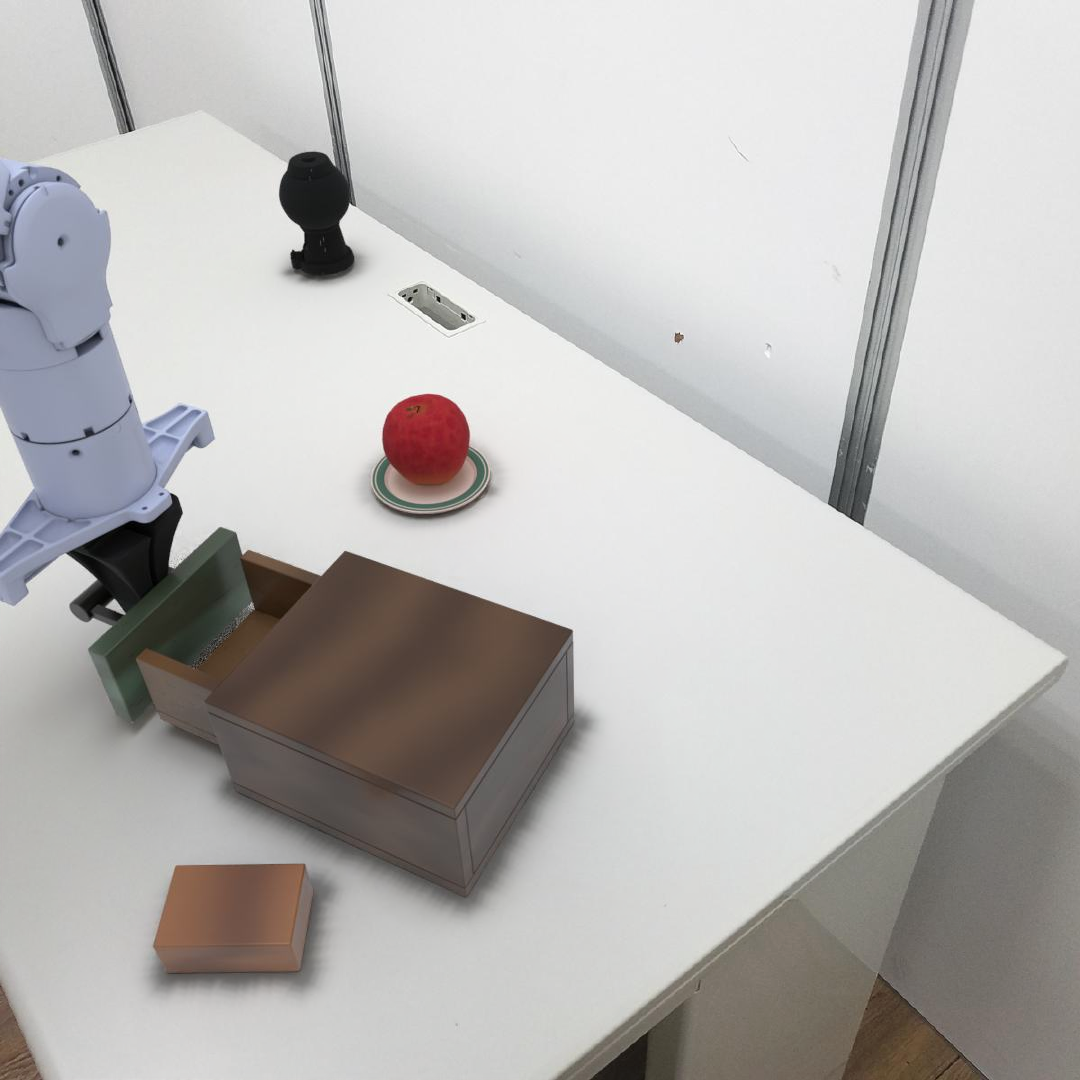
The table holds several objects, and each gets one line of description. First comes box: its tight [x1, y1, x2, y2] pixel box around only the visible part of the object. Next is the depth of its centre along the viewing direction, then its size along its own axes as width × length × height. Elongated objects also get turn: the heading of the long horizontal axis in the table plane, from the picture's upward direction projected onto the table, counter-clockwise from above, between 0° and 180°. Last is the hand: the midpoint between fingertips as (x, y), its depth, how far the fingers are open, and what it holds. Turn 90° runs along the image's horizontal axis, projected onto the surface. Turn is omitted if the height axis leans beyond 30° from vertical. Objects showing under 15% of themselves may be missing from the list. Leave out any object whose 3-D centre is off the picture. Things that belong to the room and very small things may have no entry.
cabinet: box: [204, 550, 575, 898], centre depth 56 cm, size 14×12×7 cm
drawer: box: [68, 526, 322, 746], centre depth 60 cm, size 17×10×5 cm, turn 63°
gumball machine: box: [278, 147, 355, 278], centre depth 95 cm, size 7×6×10 cm
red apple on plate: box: [370, 393, 491, 515], centre depth 73 cm, size 8×8×6 cm
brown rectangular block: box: [152, 863, 315, 974], centre depth 50 cm, size 6×4×2 cm, turn 90°
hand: (146, 611), depth 62 cm, fingers closed, pressing on drawer
